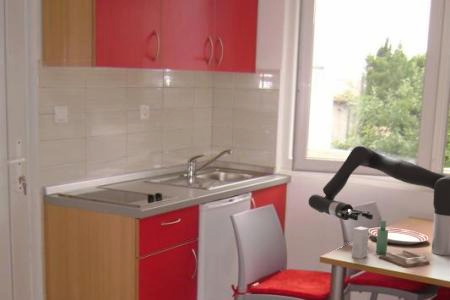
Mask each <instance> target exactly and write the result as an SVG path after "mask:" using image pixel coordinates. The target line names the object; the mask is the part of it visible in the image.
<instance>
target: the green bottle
mask: <svg viewBox="0 0 450 300" xmlns="http://www.w3.org/2000/svg"><path fill="white" fill-rule="evenodd" d="M379 227H380V229H378V230H377V238H376V246H375V254H378V255H380V256H383V255H386V252H388V242H387V241H388V230H386V228H387V221H386V220H383V219H382V220H380V226H379Z"/></svg>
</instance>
